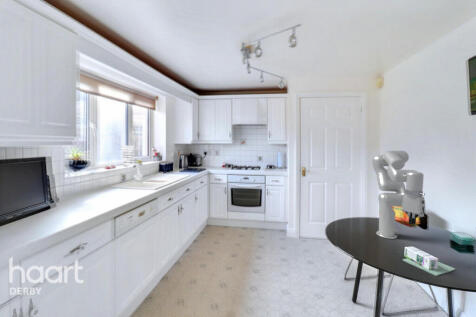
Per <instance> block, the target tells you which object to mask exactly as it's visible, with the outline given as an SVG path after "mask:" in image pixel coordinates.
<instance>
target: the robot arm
mask: <svg viewBox="0 0 476 317" xmlns="http://www.w3.org/2000/svg"><path fill="white" fill-rule="evenodd" d="M409 158H410V157H409V154H408V152H407V151H405V150H387V151H385V152H384V153H383V154H379V155H374V157H373V158H372V164H371V165H372V168H373V170H374V172H375V173H376V174H375V175H376V180H377V185H378V190H380V191H381V193H379V194H378V197H377V198H378V199H377V200H378V204H379V205H378V206H379V211H378V212H379V217H378V230H377V231H376V232H375V234H376V235H377V236H378V237H381V238H385V239H391V240H392V239H393V240H394V239H397V238H398V235H397V234H396V233H399V229H396V211H395V210H394V208H393V207H399V208H400V207H401V210H402V213H405V214H406V215H407V217H408V225H412V226H414V225H416V223H417V218H423V217H425V216H424V214H425V213H426V199H425V197H424V196H425V195H426V193H425V192H424V191H423V189H424V173H423V172H421V171H418V170H415V169H403V168H404V167H405V166H406V163H407V162H408V161H409ZM386 167H387V168H386ZM405 183H406V184H405Z"/></svg>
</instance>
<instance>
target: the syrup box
mask: <svg viewBox="0 0 476 317" xmlns="http://www.w3.org/2000/svg"><path fill="white" fill-rule="evenodd" d="M404 257H405V259H407V258H408V259H410V260H412V261H414V262H416V263H417V264H419V265H421V266H423V267H425V268H426V269H428V270H434V269H438V262H439V258H438V257H435V256H434V255H432V254H429V253H428V252H425V251H423V250H422V249H419V248H417V247H415V246H405V247H404Z"/></svg>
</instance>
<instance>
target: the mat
mask: <svg viewBox="0 0 476 317" xmlns="http://www.w3.org/2000/svg"><path fill="white" fill-rule="evenodd" d="M402 261H403V262H405V263H407V264H409V265H412V266H414V267H415V268H418V269H421V270H422V271H425V272H427V273H429V274H431V275H433V276H435V277H437V276H441V275H443V274H447V273H450V272H453V271H455V270H456V267H455V268H454V267H452V266H449V265H447V264H444V263H443V262H440V261H438V269H434V270H428V269H426V268H425V267H423V266H421V265H419V264H417V263H416V262H414V261H412V260H410V259H408V258H403V259H402Z"/></svg>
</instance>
